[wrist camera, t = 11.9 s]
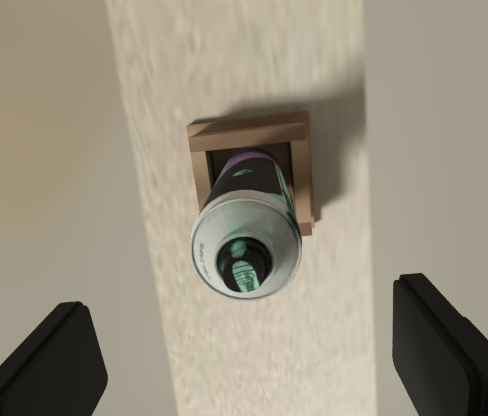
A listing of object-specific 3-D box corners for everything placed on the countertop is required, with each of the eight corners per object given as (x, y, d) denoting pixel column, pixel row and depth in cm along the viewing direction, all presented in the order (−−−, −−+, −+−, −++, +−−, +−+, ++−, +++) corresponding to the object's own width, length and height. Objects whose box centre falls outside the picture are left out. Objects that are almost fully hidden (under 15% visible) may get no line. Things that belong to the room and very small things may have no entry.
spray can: (250, 134, 32) (237, 183, 13) (293, 174, 33) (340, 274, 14) (211, 178, 34) (148, 280, 14) (254, 215, 35) (248, 357, 15)
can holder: (188, 124, 33) (176, 128, 28) (306, 111, 32) (314, 113, 28) (205, 234, 36) (197, 254, 32) (313, 223, 36) (321, 242, 31)
